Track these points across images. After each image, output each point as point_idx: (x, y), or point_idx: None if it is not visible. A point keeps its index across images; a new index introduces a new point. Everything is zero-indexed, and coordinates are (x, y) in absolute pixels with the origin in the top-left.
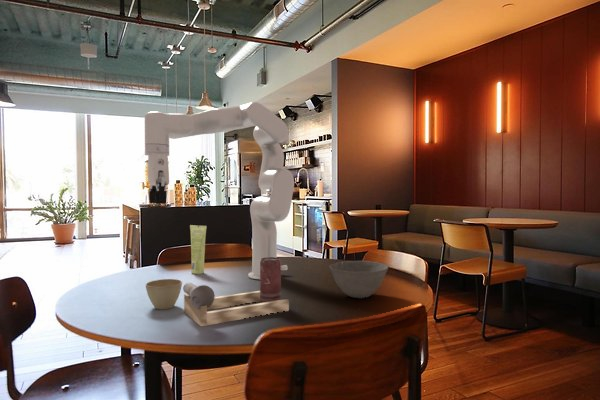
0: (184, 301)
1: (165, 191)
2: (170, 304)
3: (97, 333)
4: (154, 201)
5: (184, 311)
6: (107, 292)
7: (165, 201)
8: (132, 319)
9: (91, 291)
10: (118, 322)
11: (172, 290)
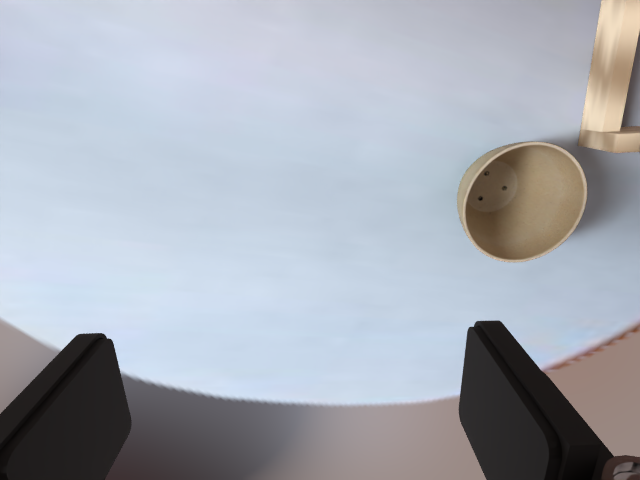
0: (601, 149)
1: (594, 450)
2: (529, 177)
3: (596, 345)
4: (115, 394)
5: (581, 145)
6: (225, 306)
7: (505, 339)
8: (547, 275)
9: (192, 343)
10: (549, 304)
11: (574, 184)
